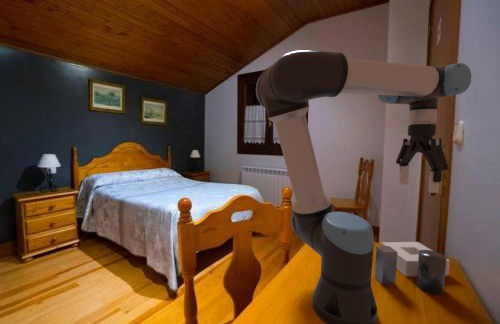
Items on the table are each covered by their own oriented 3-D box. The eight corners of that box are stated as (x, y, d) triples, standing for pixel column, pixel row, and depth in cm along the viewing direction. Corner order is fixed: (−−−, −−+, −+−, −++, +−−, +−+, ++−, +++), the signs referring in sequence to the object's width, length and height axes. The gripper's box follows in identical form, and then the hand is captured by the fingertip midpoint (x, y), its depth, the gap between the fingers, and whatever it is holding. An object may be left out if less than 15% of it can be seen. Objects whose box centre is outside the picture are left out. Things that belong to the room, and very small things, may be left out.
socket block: (405, 276, 77) (406, 261, 77) (380, 255, 91) (380, 242, 91) (448, 275, 78) (449, 260, 77) (416, 254, 92) (417, 241, 91)
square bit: (382, 284, 73) (384, 252, 72) (374, 277, 77) (376, 246, 76) (395, 284, 73) (397, 252, 72) (387, 276, 77) (389, 246, 76)
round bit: (427, 295, 68) (430, 260, 67) (411, 281, 74) (413, 249, 74) (449, 294, 68) (452, 260, 67) (431, 281, 75) (434, 249, 74)
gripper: (468, 121, 68) (461, 196, 70) (407, 125, 93) (403, 181, 95) (442, 120, 67) (436, 196, 69) (387, 125, 92) (384, 181, 94)
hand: (417, 188), depth 82 cm, fingers open, 13 cm apart
